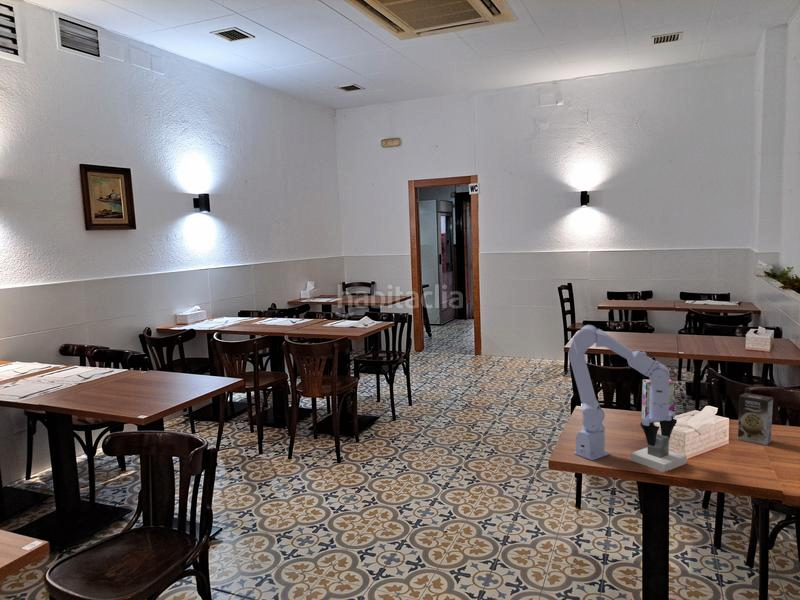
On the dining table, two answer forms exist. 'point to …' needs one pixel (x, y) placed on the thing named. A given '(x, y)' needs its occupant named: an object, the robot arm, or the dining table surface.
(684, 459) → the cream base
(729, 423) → the dining table surface
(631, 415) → the dining table surface
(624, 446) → the dining table surface
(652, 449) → the grey block
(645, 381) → the candy bar box
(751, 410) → the coffee box
